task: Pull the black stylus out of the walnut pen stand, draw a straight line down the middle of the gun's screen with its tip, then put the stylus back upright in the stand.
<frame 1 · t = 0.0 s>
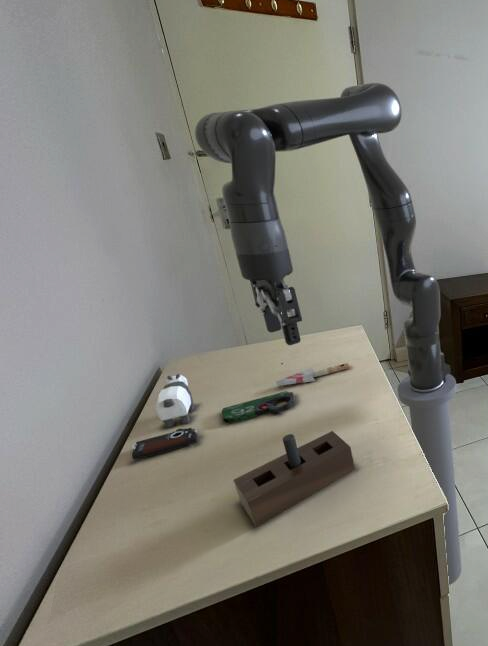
hand: (283, 336, 71), 31 cm above the table, tool pointing down, fingers open, 8 cm apart
gun: (260, 411, 104), on the table
stylus: (294, 462, 78), in the pen stand
giant panda: (182, 414, 103), on the table
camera: (168, 446, 92), on the table
pen stand: (301, 485, 80), on the table
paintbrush: (315, 378, 120), on the table
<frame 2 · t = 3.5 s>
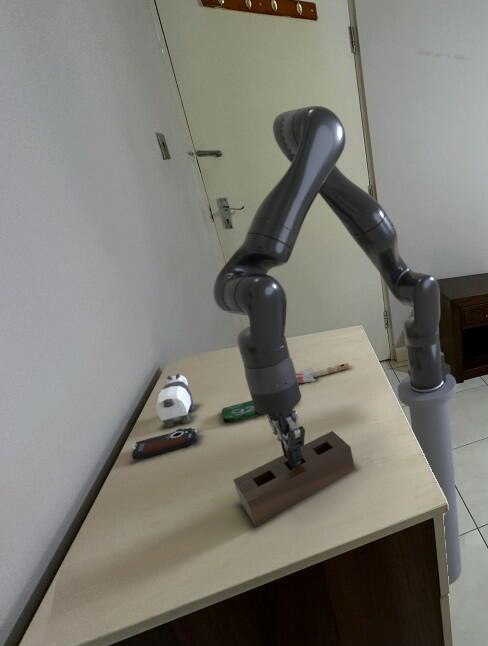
hand: (293, 457, 77), 7 cm above the table, tool pointing down, fingers closed on stylus, 2 cm apart
stylus: (294, 462, 78), in the pen stand, touching gripper
everything else where it was.
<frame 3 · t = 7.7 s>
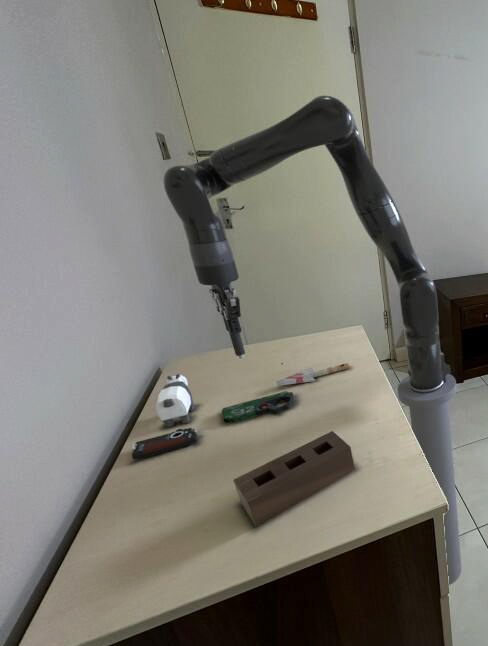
hand: (234, 331, 95), 23 cm above the table, tool pointing down, fingers closed on stylus, 2 cm apart
stylus: (235, 335, 95), point 22 cm above the table, touching gripper
everything else where it was.
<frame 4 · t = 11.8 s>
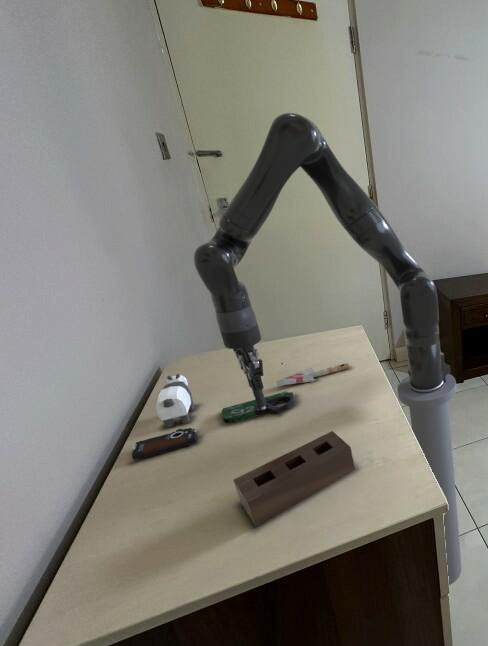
hand: (256, 387, 100), 8 cm above the table, tool pointing down, fingers closed on stylus, 2 cm apart
stylus: (256, 388, 100), point 8 cm above the table, touching gripper
everything else where it was.
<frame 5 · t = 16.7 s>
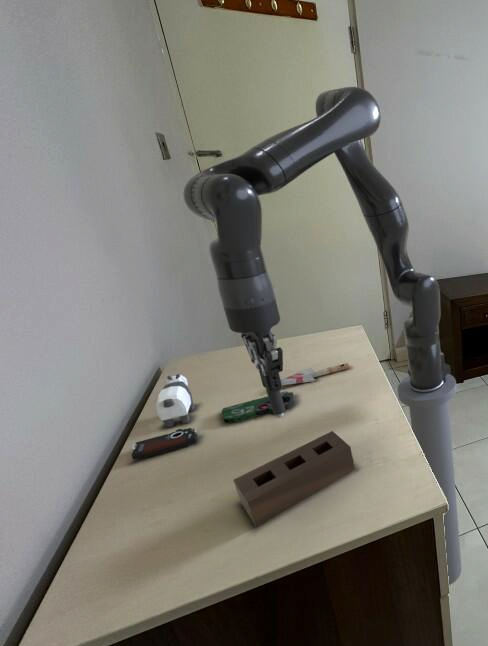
hand: (273, 387, 73), 22 cm above the table, tool pointing down, fingers closed on stylus, 2 cm apart
stylus: (272, 389, 73), point 22 cm above the table, touching gripper
everything else where it was.
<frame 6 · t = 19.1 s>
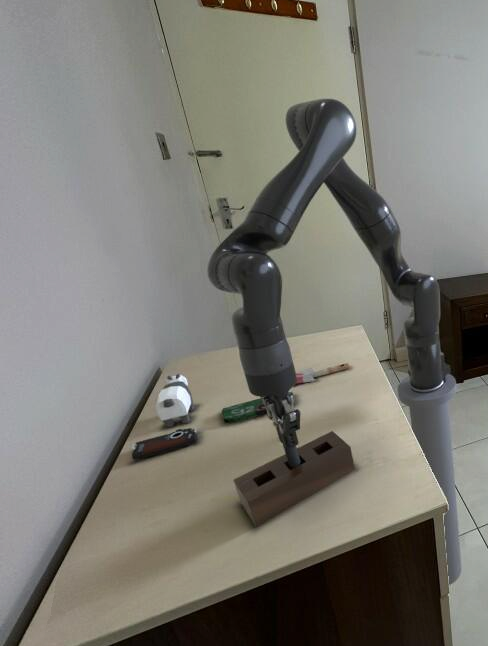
hand: (289, 443, 76), 11 cm above the table, tool pointing down, fingers closed on stylus, 2 cm apart
stylus: (289, 444, 76), point 10 cm above the table, touching gripper
everything else where it was.
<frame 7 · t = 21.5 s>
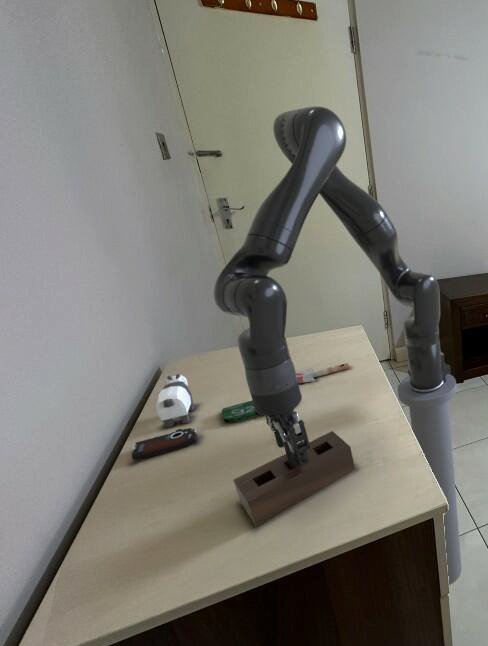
hand: (293, 454, 77), 8 cm above the table, tool pointing down, fingers open, 8 cm apart
stylus: (294, 462, 78), in the pen stand
everything else where it was.
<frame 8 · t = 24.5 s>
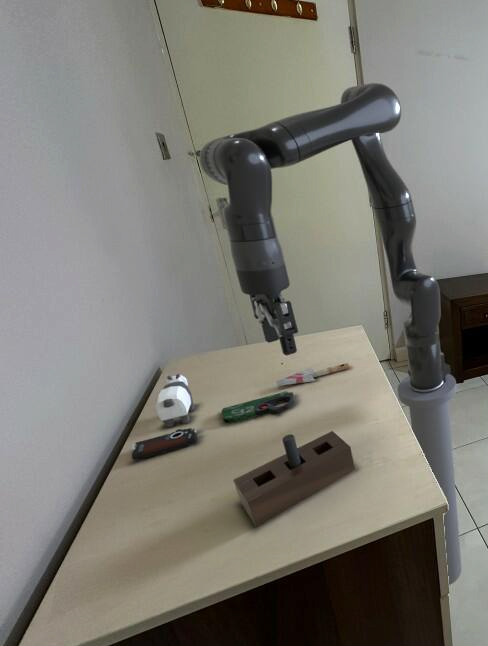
hand: (281, 347, 75), 28 cm above the table, tool pointing down, fingers open, 8 cm apart
nothing on the table moved.
at the end: stylus 0.0 cm off-centre in the pen stand, point 6.0 cm above the pen stand's base; stylus tilted 0°; gun moved 0.2 cm from its start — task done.
